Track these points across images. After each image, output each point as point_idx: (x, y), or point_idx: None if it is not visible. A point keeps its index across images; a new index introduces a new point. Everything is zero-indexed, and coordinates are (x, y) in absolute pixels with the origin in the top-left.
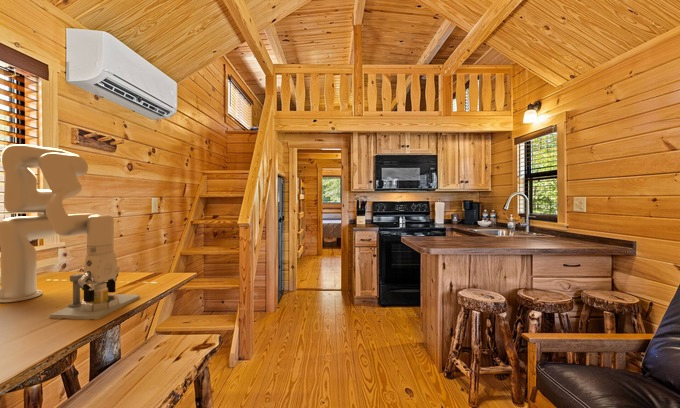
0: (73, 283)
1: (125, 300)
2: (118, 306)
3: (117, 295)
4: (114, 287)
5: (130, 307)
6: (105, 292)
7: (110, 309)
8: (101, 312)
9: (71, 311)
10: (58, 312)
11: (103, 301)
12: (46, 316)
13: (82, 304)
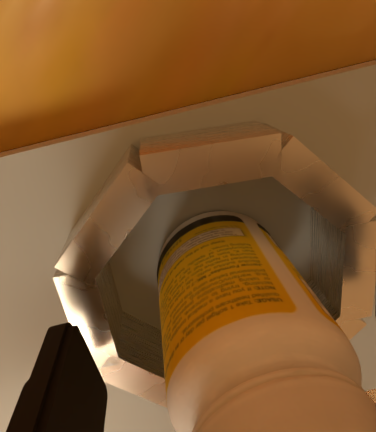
0: None
1: (11, 189)
2: (148, 118)
3: (67, 255)
4: (50, 371)
5: (70, 27)
6: (252, 292)
7: (257, 95)
8: (340, 103)
9: None
10: (372, 372)
11: (247, 233)
12: (370, 394)
13: (370, 308)
